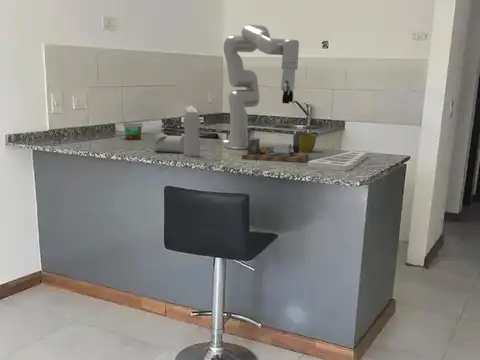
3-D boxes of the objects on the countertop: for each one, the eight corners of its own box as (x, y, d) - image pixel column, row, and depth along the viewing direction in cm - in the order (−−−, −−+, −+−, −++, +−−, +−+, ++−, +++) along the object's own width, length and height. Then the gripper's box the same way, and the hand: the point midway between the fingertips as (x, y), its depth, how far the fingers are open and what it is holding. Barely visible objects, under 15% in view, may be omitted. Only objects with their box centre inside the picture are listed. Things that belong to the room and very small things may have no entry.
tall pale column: (181, 155, 268) (180, 110, 264) (186, 154, 271) (186, 110, 267) (197, 157, 262) (197, 111, 258) (202, 156, 265) (202, 111, 261)
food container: (119, 139, 326) (119, 123, 324) (124, 138, 332) (124, 122, 330) (138, 140, 323) (137, 123, 321) (142, 139, 329) (142, 123, 327)
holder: (351, 156, 276) (351, 151, 275) (385, 160, 265) (385, 154, 265) (307, 167, 240) (307, 161, 240) (344, 172, 230) (345, 165, 229)
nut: (256, 154, 261) (257, 145, 260) (258, 153, 265) (259, 144, 264) (265, 154, 259) (266, 145, 259) (267, 153, 264) (267, 144, 263)
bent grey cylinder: (141, 150, 275) (178, 151, 270) (143, 129, 276) (179, 131, 271) (155, 153, 293) (190, 155, 287) (157, 133, 293) (191, 135, 288)
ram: (273, 152, 257) (274, 131, 255) (277, 150, 264) (277, 130, 262) (297, 153, 254) (298, 132, 252) (300, 151, 261) (301, 131, 259)
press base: (241, 159, 258) (241, 140, 256) (248, 155, 271) (249, 137, 270) (304, 162, 250) (304, 143, 249) (308, 158, 264) (309, 139, 262)
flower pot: (300, 152, 282) (301, 135, 281) (294, 150, 291) (295, 133, 289) (316, 152, 285) (317, 135, 283) (309, 150, 293) (310, 133, 291)
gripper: (285, 65, 265) (283, 100, 269) (278, 66, 249) (276, 103, 253) (300, 66, 264) (298, 101, 267) (294, 66, 247) (292, 104, 251)
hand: (287, 102), depth 260 cm, fingers open, 9 cm apart
